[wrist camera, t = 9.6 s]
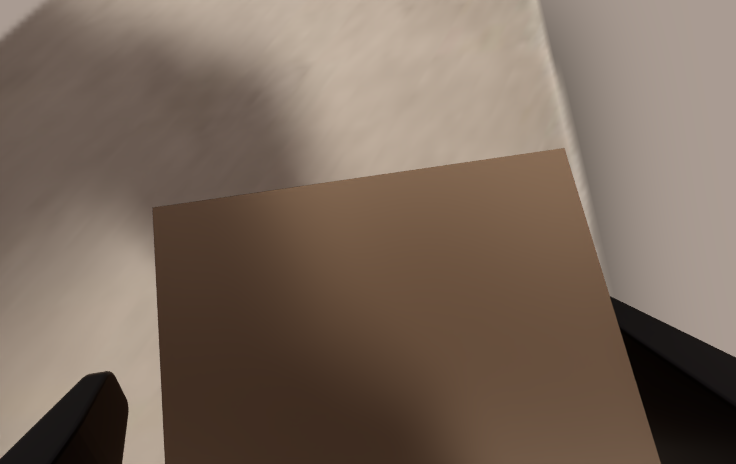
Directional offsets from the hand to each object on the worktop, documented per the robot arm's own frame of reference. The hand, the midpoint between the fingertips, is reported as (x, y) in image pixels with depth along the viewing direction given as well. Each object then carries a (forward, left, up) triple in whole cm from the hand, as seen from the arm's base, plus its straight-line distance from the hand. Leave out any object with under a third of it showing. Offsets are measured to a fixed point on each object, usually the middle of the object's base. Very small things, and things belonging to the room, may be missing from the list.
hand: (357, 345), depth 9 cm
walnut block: (-1, 0, -9) cm, 9 cm away
